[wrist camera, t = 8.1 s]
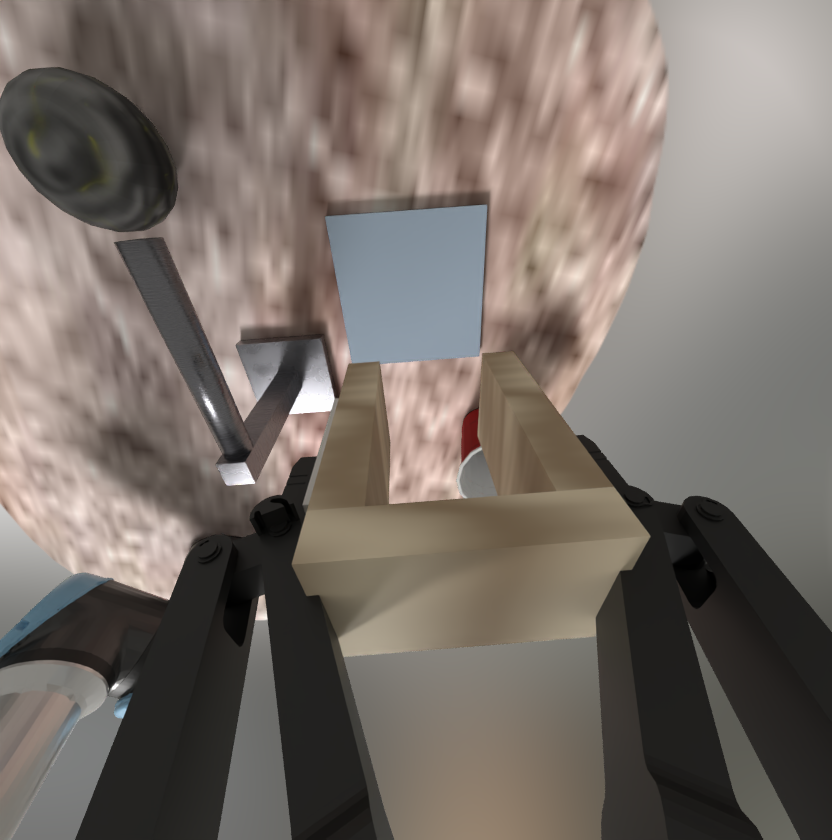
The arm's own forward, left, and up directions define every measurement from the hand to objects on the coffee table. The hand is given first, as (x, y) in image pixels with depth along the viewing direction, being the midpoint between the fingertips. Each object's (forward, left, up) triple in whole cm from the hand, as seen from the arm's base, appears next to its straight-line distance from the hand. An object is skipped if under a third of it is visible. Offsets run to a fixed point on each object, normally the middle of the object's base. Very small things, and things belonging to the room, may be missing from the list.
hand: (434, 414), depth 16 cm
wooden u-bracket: (0, 0, -1) cm, 1 cm away
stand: (-16, -3, -26) cm, 30 cm away
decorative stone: (-24, +13, -26) cm, 38 cm away
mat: (0, 0, -26) cm, 26 cm away
